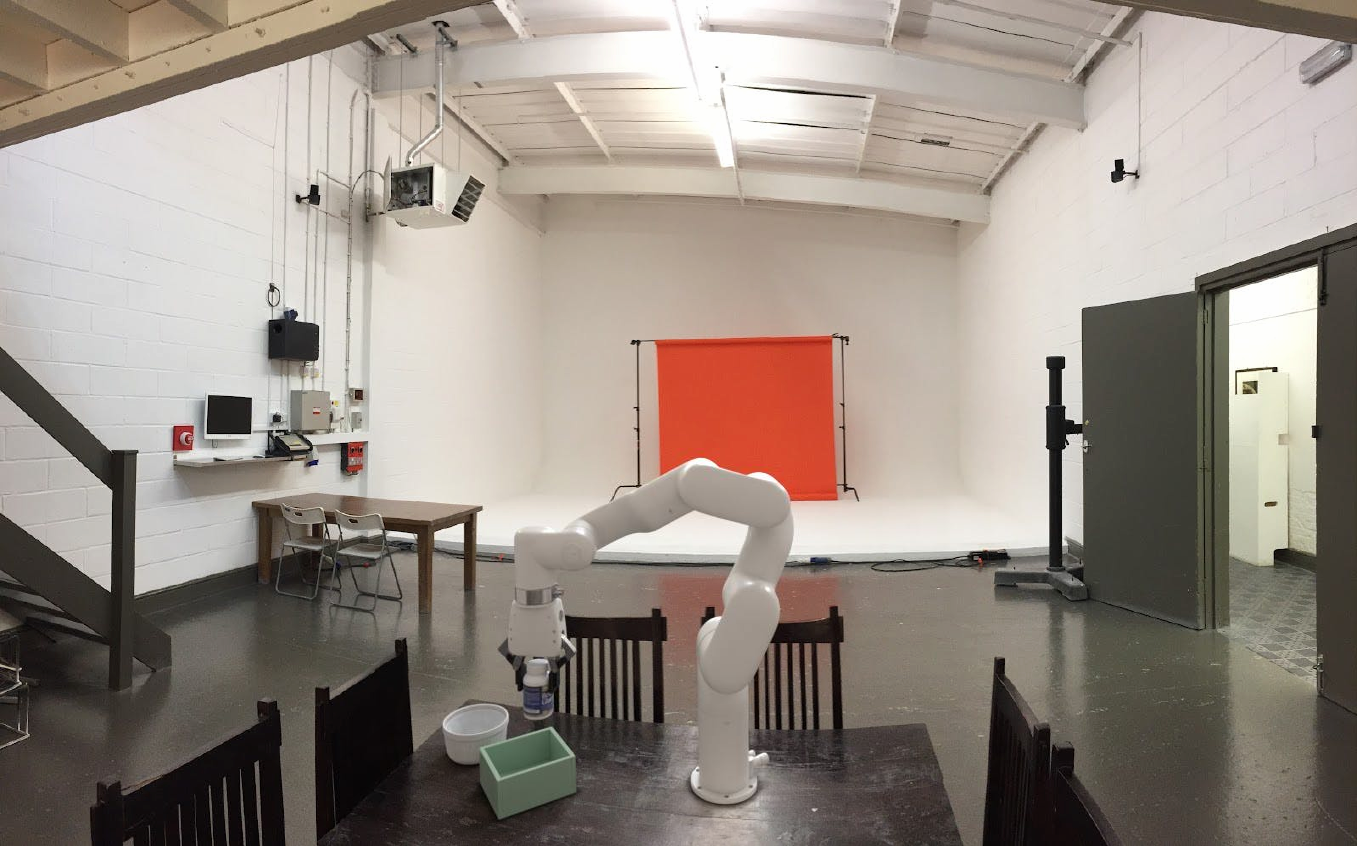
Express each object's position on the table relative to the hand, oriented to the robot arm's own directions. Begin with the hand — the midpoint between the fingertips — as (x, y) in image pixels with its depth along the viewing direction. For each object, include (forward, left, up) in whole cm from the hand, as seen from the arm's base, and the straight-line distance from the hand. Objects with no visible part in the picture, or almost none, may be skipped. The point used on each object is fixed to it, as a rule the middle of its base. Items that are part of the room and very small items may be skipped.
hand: (537, 688), depth 122 cm
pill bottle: (0, 0, -5) cm, 5 cm away
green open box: (+2, -2, -20) cm, 20 cm away
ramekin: (+7, -20, -20) cm, 29 cm away
